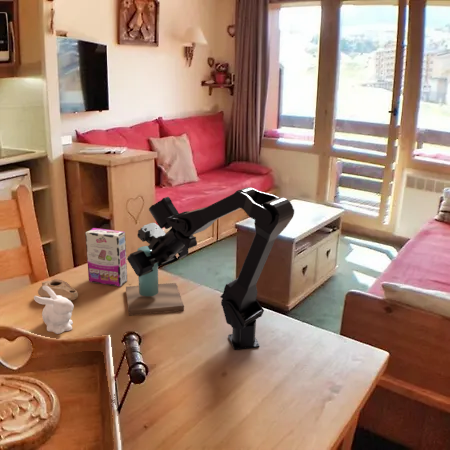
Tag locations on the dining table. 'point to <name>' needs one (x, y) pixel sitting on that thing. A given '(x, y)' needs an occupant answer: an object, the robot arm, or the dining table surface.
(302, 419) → the dining table surface
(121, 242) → the candy bar box
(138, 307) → the walnut board
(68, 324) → the rabbit
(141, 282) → the teal cup
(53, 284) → the pottery oil lamp
